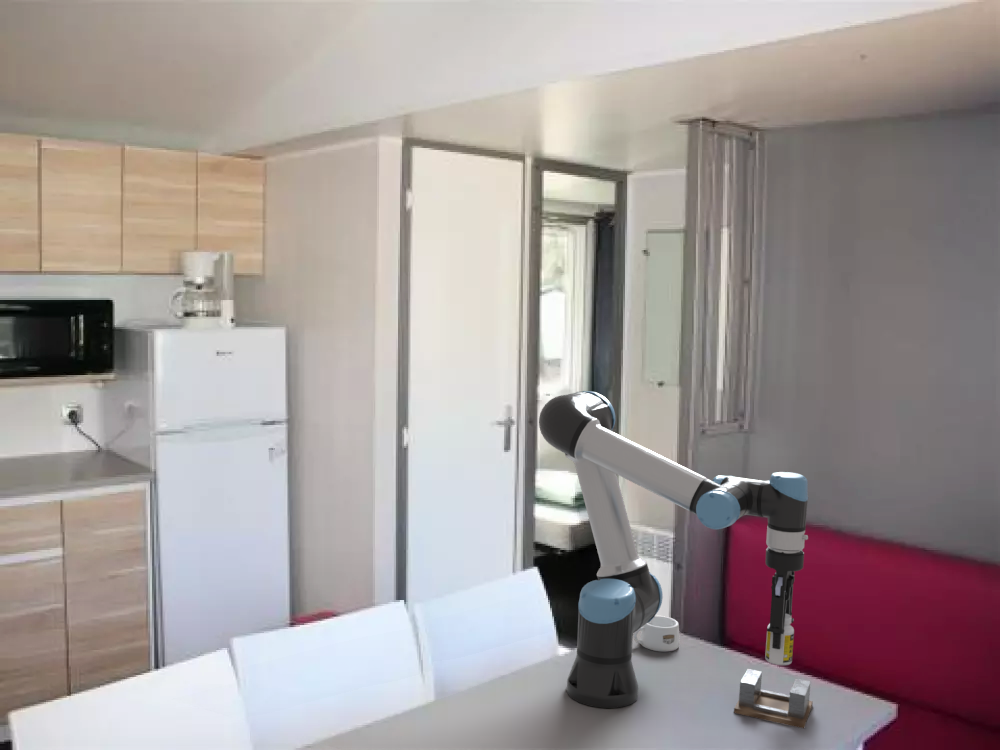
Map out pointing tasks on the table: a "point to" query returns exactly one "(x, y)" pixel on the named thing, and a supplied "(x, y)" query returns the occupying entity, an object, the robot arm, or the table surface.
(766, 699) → the mount board
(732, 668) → the table surface
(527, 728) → the table surface
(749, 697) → the grey rectangular frame
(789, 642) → the supplement bottle
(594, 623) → the robot arm
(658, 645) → the mug
